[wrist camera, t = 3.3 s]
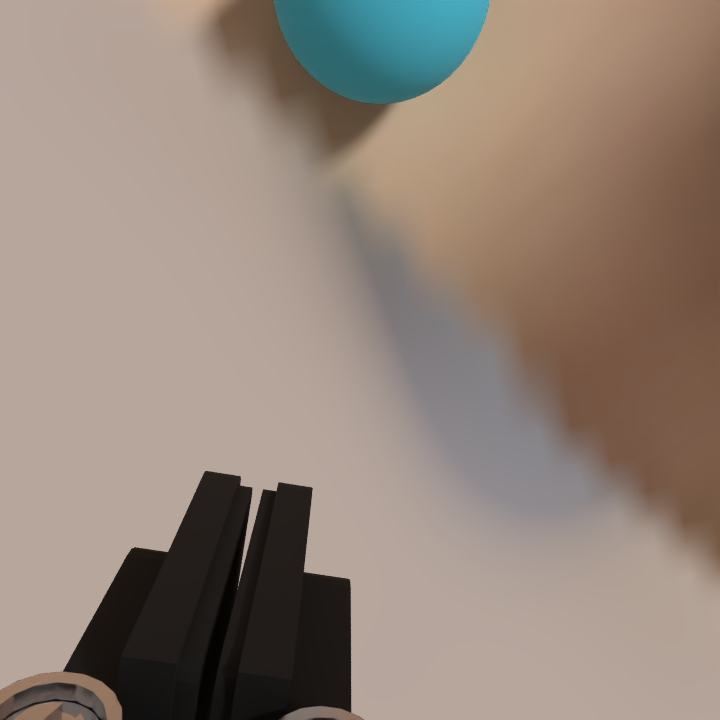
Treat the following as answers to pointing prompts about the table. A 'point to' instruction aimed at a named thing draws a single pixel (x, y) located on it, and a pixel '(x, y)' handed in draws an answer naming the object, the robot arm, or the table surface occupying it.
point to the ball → (380, 43)
